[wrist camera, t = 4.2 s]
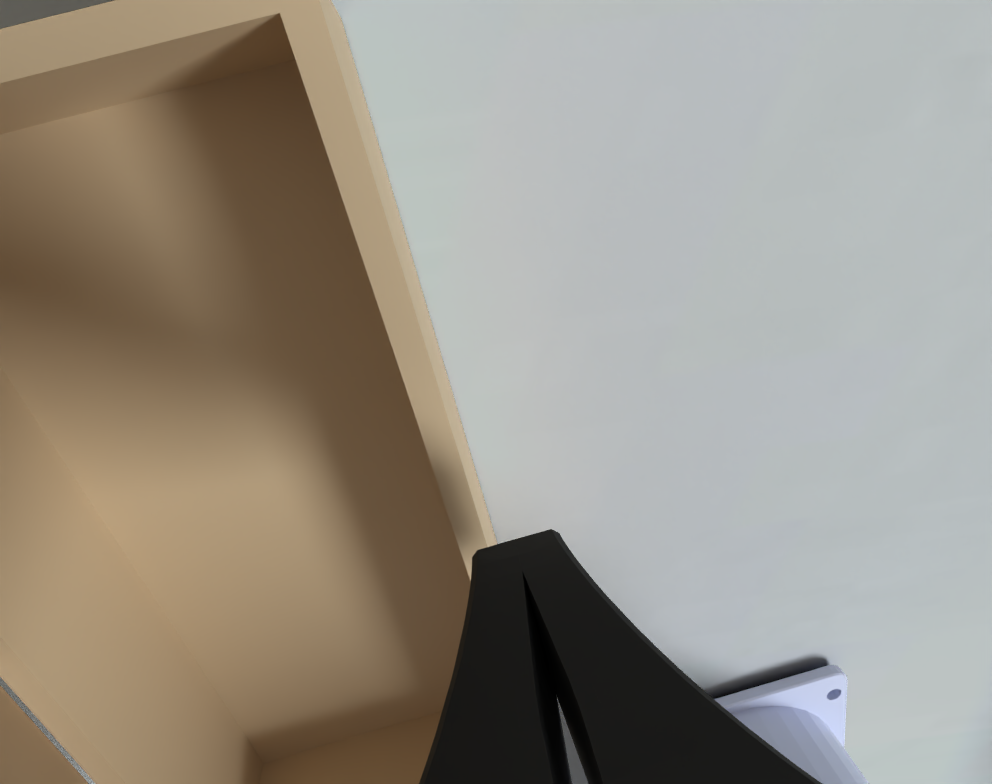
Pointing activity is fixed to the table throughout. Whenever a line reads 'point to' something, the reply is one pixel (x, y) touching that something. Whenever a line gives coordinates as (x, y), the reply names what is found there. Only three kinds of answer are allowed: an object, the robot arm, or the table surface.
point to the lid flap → (29, 751)
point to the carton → (219, 406)
